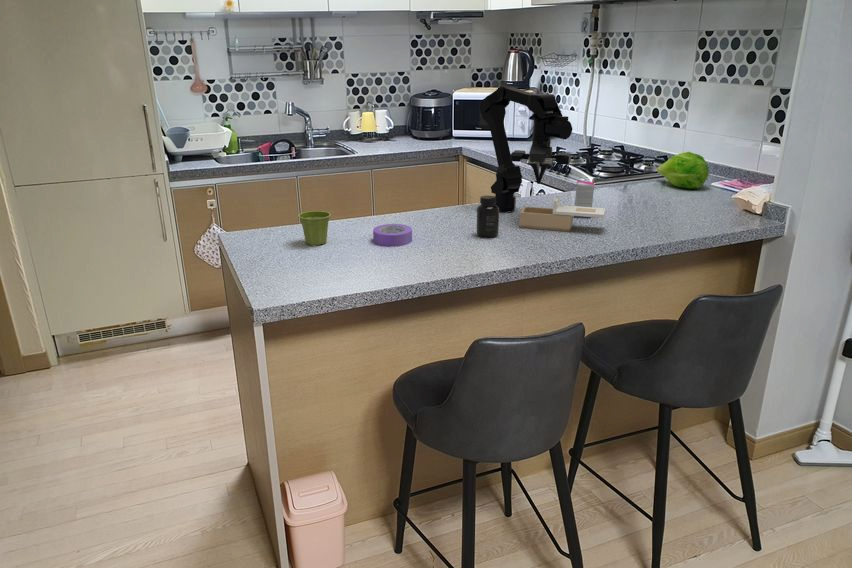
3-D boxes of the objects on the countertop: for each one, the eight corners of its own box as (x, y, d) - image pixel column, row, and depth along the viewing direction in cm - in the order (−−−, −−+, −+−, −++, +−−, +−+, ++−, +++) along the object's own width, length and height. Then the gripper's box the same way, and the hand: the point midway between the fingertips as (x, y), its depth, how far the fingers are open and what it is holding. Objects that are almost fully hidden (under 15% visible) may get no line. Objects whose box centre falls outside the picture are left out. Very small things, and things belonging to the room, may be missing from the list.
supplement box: (591, 218, 224) (594, 184, 220) (573, 217, 225) (576, 184, 221) (591, 214, 230) (593, 181, 226) (573, 213, 231) (576, 180, 227)
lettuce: (644, 189, 275) (669, 190, 283) (690, 187, 256) (716, 188, 263) (645, 153, 274) (670, 155, 281) (692, 148, 254) (718, 150, 262)
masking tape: (399, 249, 194) (398, 236, 192) (365, 243, 199) (365, 231, 198) (419, 239, 203) (419, 226, 202) (386, 233, 209) (386, 221, 207)
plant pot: (303, 238, 204) (301, 210, 200) (334, 238, 203) (333, 210, 200) (297, 247, 195) (295, 218, 192) (329, 247, 195) (327, 218, 191)
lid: (552, 214, 209) (553, 201, 207) (555, 207, 216) (556, 195, 215) (603, 218, 205) (604, 205, 203) (605, 211, 212) (606, 199, 211)
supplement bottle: (500, 233, 208) (502, 195, 204) (495, 239, 202) (496, 200, 198) (479, 231, 210) (480, 193, 206) (473, 237, 204) (474, 198, 200)
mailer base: (519, 227, 214) (519, 212, 212) (523, 221, 221) (524, 206, 219) (569, 231, 209) (571, 216, 208) (572, 225, 216) (573, 210, 215)
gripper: (507, 137, 208) (505, 186, 214) (568, 140, 203) (564, 191, 208) (514, 132, 218) (512, 179, 224) (572, 135, 212) (568, 183, 218)
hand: (538, 183), depth 218 cm, fingers closed
